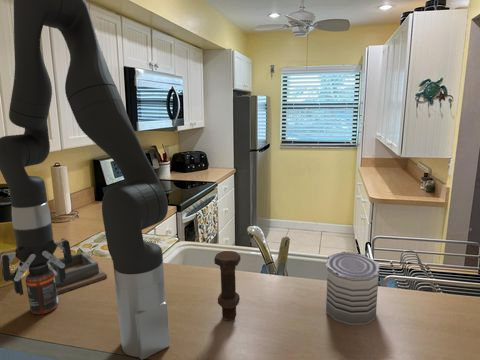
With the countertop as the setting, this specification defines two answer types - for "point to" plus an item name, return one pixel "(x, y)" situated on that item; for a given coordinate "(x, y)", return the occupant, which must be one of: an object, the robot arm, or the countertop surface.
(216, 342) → the countertop surface
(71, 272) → the socket board
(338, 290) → the can
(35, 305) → the supplement bottle
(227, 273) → the bolt
